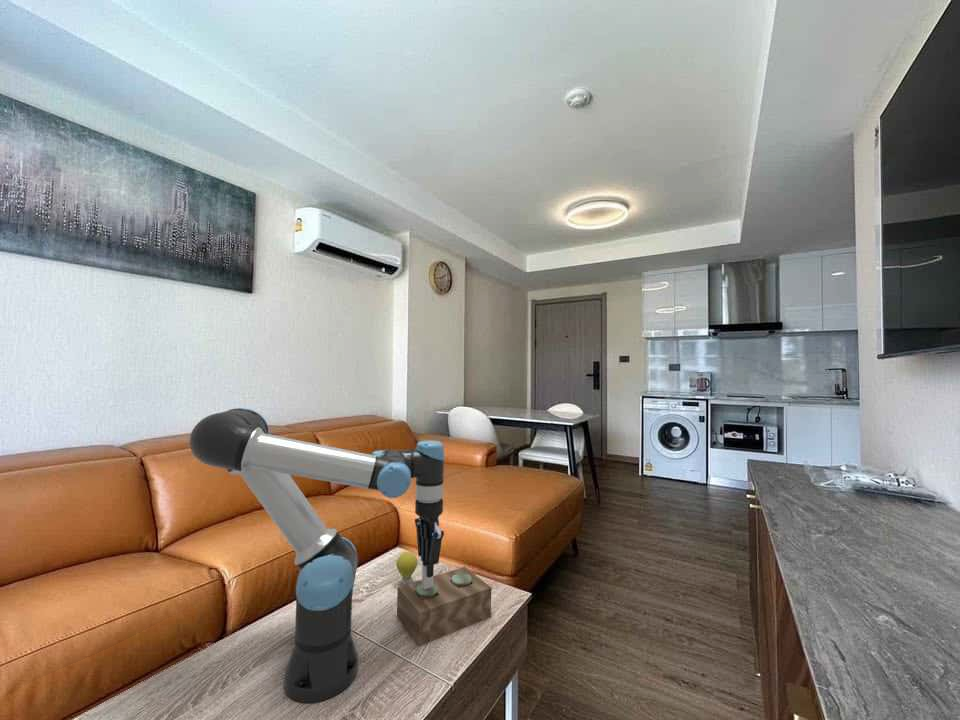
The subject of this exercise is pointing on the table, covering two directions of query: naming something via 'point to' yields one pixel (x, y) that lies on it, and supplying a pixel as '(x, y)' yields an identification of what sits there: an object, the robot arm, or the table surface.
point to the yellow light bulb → (406, 566)
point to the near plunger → (426, 591)
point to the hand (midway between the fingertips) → (427, 586)
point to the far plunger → (461, 579)
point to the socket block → (443, 606)
